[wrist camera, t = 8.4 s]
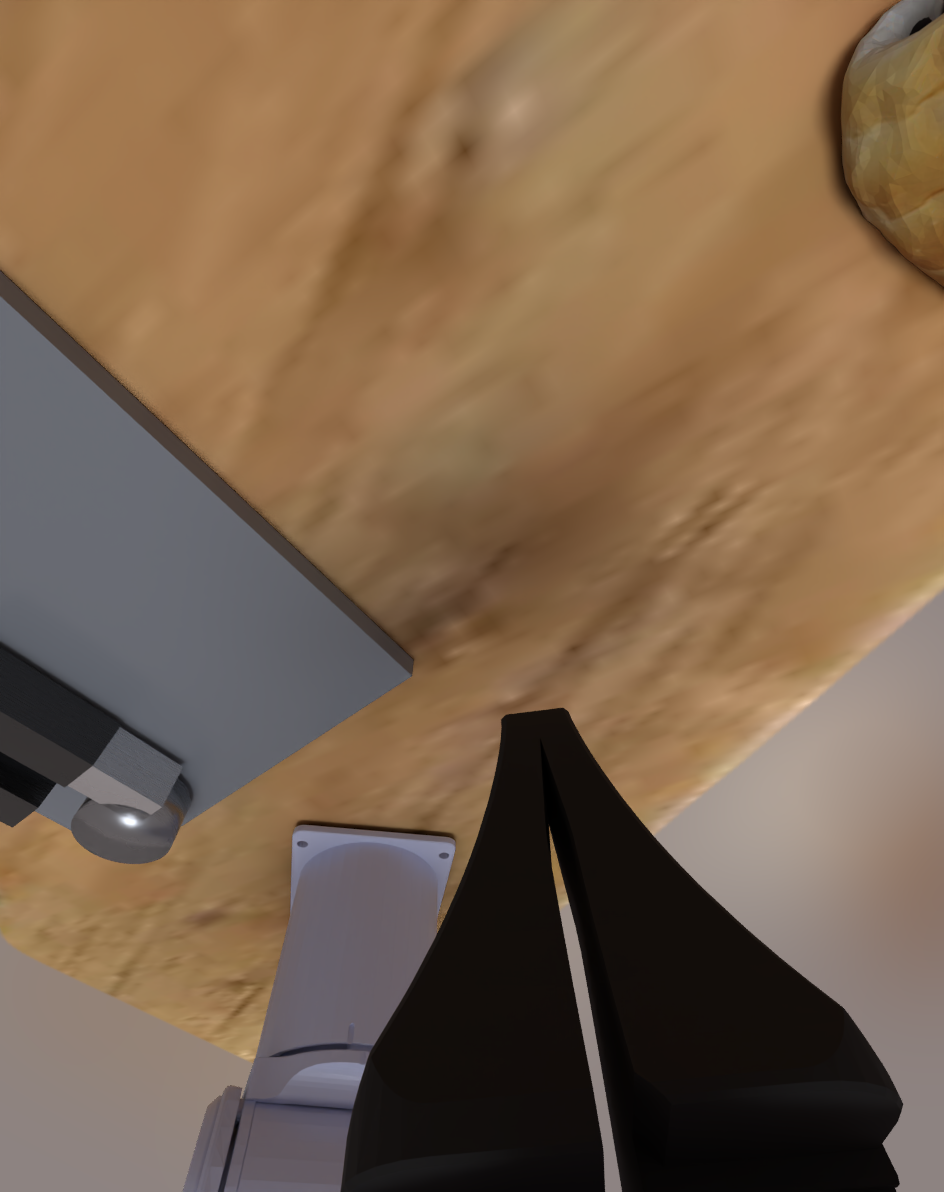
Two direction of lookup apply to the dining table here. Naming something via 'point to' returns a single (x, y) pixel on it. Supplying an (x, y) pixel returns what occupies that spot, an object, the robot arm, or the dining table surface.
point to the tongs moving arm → (92, 766)
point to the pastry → (899, 130)
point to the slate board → (160, 580)
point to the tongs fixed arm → (20, 790)
